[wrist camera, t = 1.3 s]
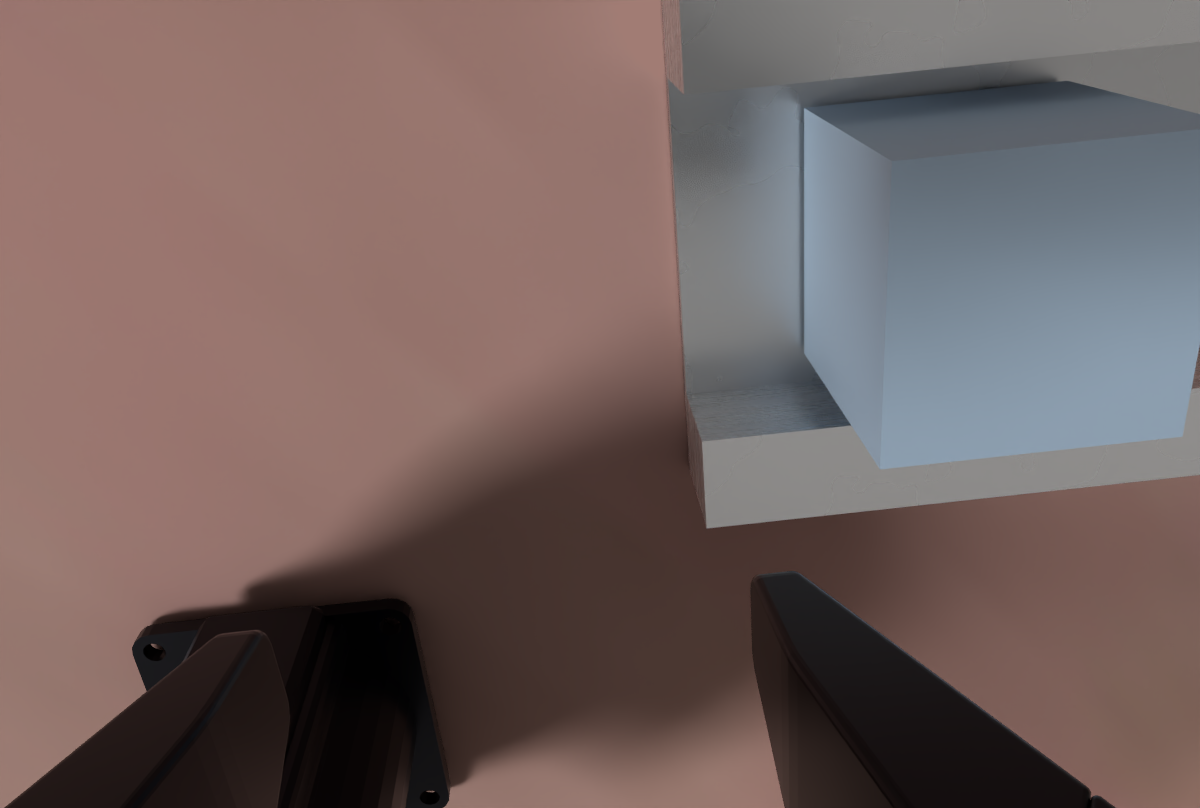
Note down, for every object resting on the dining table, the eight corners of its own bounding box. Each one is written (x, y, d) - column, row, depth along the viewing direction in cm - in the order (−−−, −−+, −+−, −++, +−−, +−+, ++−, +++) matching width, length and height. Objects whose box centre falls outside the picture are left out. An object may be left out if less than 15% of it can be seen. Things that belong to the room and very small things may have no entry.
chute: (689, 468, 22) (706, 528, 20) (659, -40, 17) (677, -38, 15) (1168, 416, 22) (1240, 470, 20) (1262, -102, 18) (1369, -108, 15)
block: (804, 353, 20) (880, 469, 16) (804, 108, 18) (892, 161, 14) (1039, 328, 20) (1182, 436, 16) (1067, 80, 18) (1240, 125, 14)
